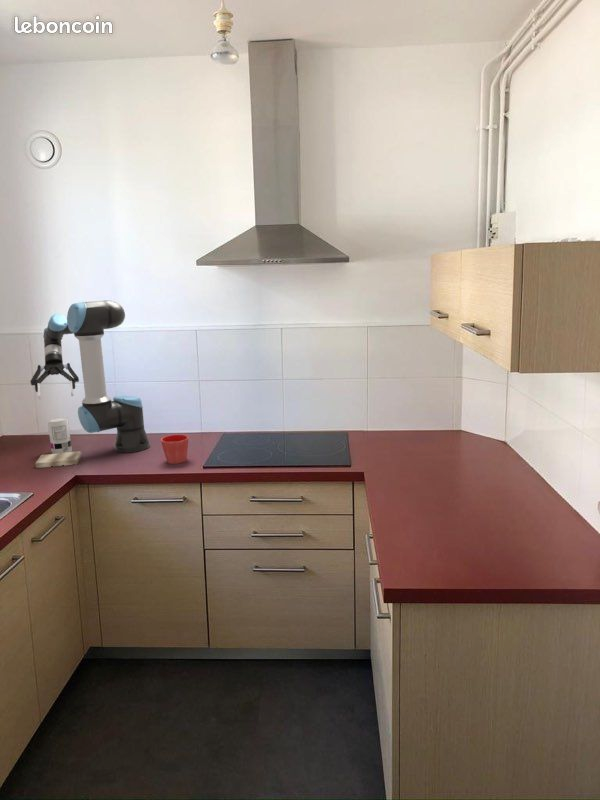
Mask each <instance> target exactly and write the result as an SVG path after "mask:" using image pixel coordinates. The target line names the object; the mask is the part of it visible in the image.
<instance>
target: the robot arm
mask: <svg viewBox="0 0 600 800" xmlns="http://www.w3.org/2000/svg"><path fill="white" fill-rule="evenodd" d="M125 312H126V311H125V309H124V307H123V306H122V305H121V304H120V303H118V302H115V301H112V300H97V301H95V300H94V301H81V302H75V303H72V304H70V306H69V307H68V311H67V315H66V316H67V317H66V316H65V315H63V314H60V313H54V314H53V315H51V317H50V319H49V320H48V323H47V327H46V328H44V330H43V335H42V336H43V345H44V346H43V348H44V365H41V364H38V365H37V369H36V371H35V373H34V374H33V375H32V378H31V379H30V385H31V386H34V390H35V392H36V393H37V396H38V400H42V396H41V395H42V394H41V383H42V382H43V381H44V380H45V379H46V378H47V377H49V376H54V375H55V376H58V375H59V374H60V375H61V376H62V377H64V378H65V379H66V380H68V381H69V382H70V383H69V386H70V395H71V397H74V390H75V389H76V383H78V382H80V379H79V375H77V374H76V372H75V371H74V370H73V368H72V366H71V363H70V362H68V363H67V364H64V363H63V362H64V361H63V348H62V347H63V346H62V341H61V340H62V339H63V337H64V335H69V334H70V335H72V334H73V335H74V338H75V339H77V340H78V345H79V354H80V362H81V371H82V380H83V381H82V382H83V389H84V398H83V399H82V401H81V406H79V407H78V409H77V410H78V411H77V415H78V416H77V417H78V419H79V422H80V425H81V426H82V428H83V429H84V431H85V432H87V433H89V434H92V433H100V432H103V431H104V432H105V431H107V430H109V431H110V430H114V429H116V436H115V441H114V450H115V452H117V453H135V452H141V451H143V450H144V451H145V450H147V449H149V448H150V447H151V442H150V438H149V437H148V434H147V432H146V429H145V422H144V411H143V410H144V409H143V408H144V407H143V404H142V402H143V401H142V400H141V398H140V397H138V396H135V395H116V396H113V399H112V398H111V397H110V396H109V395H108V394H107V385H106V384H107V383H106V377H105V366H104V356H103V347H102V338H103V336H104V335H105V331H104V330H109V329H113V328H117V327H119V326H120V325H122V324H123V323H124V321H125V318H126V313H125ZM64 369H66V371H68V372H69V373H68V372H66V371H65V370H64ZM42 372H43V373H42ZM41 373H42V374H41Z"/></svg>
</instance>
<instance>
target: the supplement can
mask: <svg viewBox="0 0 600 800" xmlns="http://www.w3.org/2000/svg"><path fill="white" fill-rule="evenodd" d="M47 426H48V435H49V441H50V449H51V454H57V453H67V452H73V450H72V441H71V440H72V439H71V433H70V425H69V421H68V419H67V417H56V418H52V419H49V421H48V424H47Z"/></svg>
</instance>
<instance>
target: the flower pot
mask: <svg viewBox="0 0 600 800" xmlns="http://www.w3.org/2000/svg"><path fill="white" fill-rule="evenodd" d="M160 443H161V446H162V450H163V453H164V456H165V459H166V462H167V463H168V464H173V465H175V464H181V463H184V462H186V461H187V458H188V457H187V455H188V447H189V436H188V435H184V434H170V435H167V436H163V437H161V439H160Z"/></svg>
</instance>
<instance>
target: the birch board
mask: <svg viewBox="0 0 600 800" xmlns="http://www.w3.org/2000/svg"><path fill="white" fill-rule="evenodd" d="M80 457H82V451H71V452H67V453H57V454H52V453H49V454H41V455H40V456H39V457H38V459H37V460H36V462H35V464H34V465H35V469H42V468H43V469H44V468H52V467H51V466H53V467H60V466H61V467H62V465H64V466H72V465H73V464H74V465H78V464H79V461H80V460H81V458H80ZM79 459H80V460H79ZM77 463H78V464H77Z"/></svg>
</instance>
